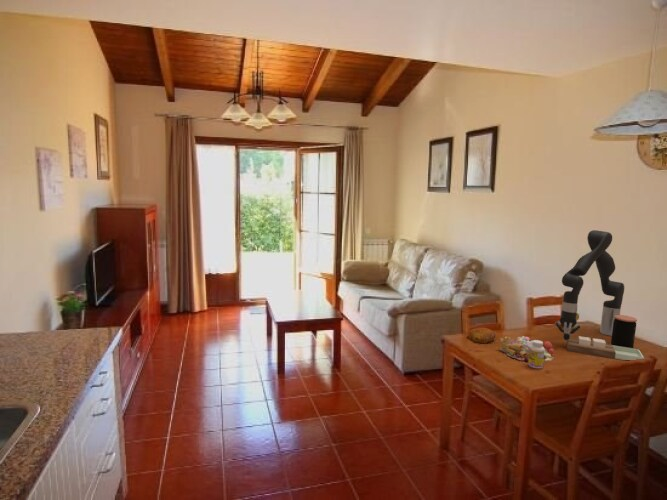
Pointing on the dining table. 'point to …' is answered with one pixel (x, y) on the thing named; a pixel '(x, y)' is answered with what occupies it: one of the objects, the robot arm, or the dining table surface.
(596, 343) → the tile
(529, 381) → the dining table surface
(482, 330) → the round bread loaf
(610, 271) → the robot arm
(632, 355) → the tray
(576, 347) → the board
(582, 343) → the tile
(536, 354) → the supplement bottle
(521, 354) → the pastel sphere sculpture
